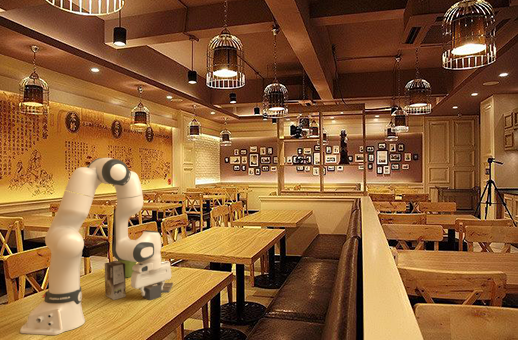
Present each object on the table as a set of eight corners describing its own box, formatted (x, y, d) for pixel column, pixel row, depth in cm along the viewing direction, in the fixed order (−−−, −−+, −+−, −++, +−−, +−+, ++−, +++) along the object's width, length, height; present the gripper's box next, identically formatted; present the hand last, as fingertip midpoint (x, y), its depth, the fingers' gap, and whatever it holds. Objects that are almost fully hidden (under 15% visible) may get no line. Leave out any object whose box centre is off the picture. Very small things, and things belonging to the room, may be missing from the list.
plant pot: (134, 279, 207) (134, 259, 207) (113, 279, 208) (112, 259, 207) (141, 273, 219) (141, 253, 219) (121, 273, 219) (121, 254, 219)
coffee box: (126, 296, 181) (125, 263, 181) (113, 300, 176) (112, 266, 176) (117, 292, 187) (116, 260, 187) (104, 295, 182) (104, 262, 182)
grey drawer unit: (150, 300, 176) (149, 288, 176) (143, 297, 180) (142, 285, 180) (161, 296, 180) (160, 285, 180) (153, 294, 184) (153, 282, 184)
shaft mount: (144, 293, 186) (144, 285, 185) (149, 285, 198) (149, 277, 197) (169, 292, 186) (168, 284, 186) (173, 284, 198) (172, 276, 198)
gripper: (166, 258, 189) (166, 285, 190) (129, 267, 174) (129, 297, 174) (173, 260, 185) (174, 288, 186) (136, 270, 170) (136, 300, 170)
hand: (152, 292), depth 180 cm, fingers open, 8 cm apart
